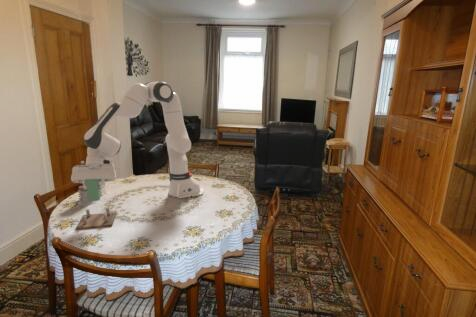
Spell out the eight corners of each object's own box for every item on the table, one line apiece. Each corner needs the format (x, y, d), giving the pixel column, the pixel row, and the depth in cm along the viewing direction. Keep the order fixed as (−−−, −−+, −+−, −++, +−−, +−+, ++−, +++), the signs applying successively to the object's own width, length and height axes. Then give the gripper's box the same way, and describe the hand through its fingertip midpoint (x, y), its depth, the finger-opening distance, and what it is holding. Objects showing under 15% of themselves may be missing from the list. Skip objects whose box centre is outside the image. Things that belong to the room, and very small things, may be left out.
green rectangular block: (100, 198, 145) (98, 179, 143) (99, 200, 143) (97, 181, 140) (89, 198, 144) (87, 180, 142) (88, 201, 141) (86, 182, 139)
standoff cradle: (116, 213, 155) (115, 205, 154) (112, 226, 142) (111, 216, 141) (83, 216, 151) (82, 207, 150) (76, 229, 138) (74, 220, 137)
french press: (93, 197, 175) (88, 158, 169) (100, 203, 168) (95, 162, 161) (75, 201, 169) (70, 160, 162) (81, 208, 161) (76, 165, 154)
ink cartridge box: (89, 195, 179) (86, 172, 175) (93, 192, 184) (91, 170, 180) (102, 196, 178) (99, 173, 174) (106, 193, 183) (104, 170, 179)
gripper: (71, 162, 143) (67, 187, 136) (115, 160, 148) (114, 185, 141) (74, 168, 148) (71, 193, 141) (117, 166, 153) (115, 190, 146)
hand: (92, 189), depth 141 cm, fingers closed on green rectangular block, 5 cm apart
